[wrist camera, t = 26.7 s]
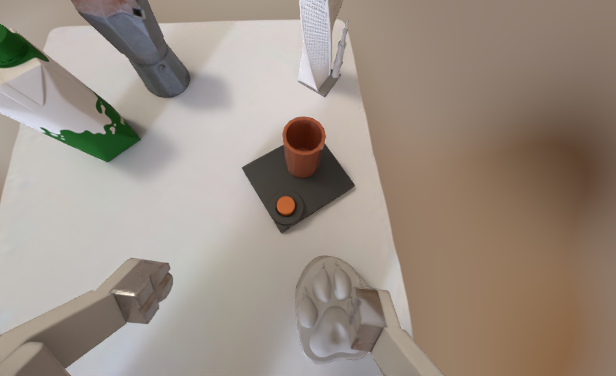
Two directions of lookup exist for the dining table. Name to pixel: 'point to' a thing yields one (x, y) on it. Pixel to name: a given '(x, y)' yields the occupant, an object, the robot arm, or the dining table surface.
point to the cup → (303, 146)
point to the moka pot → (137, 41)
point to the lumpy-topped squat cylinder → (326, 310)
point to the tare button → (286, 205)
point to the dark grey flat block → (296, 185)
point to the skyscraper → (320, 44)
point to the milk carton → (57, 101)
